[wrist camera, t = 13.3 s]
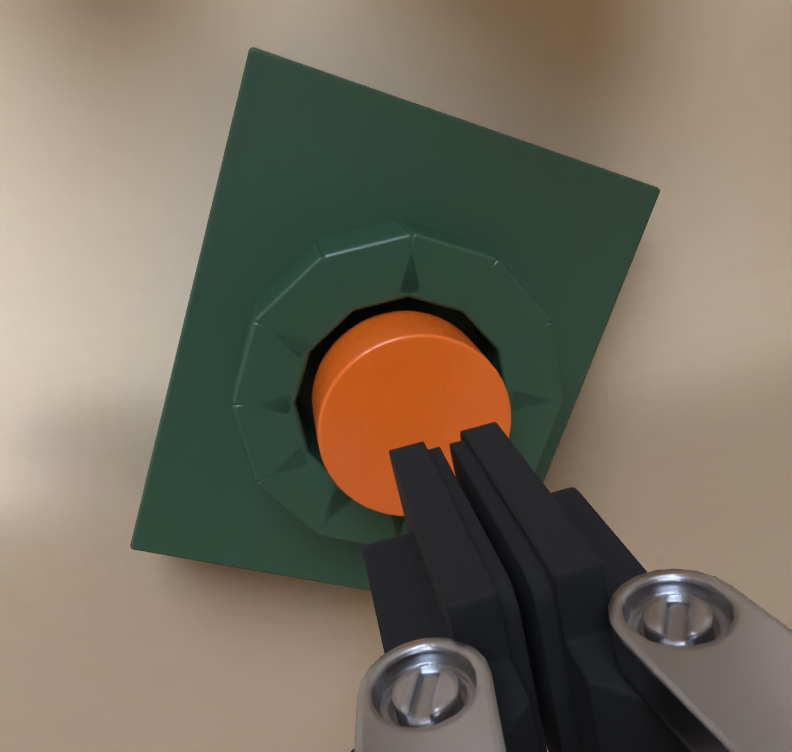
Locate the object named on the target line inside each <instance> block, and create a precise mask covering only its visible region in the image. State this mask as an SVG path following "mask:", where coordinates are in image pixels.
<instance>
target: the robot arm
mask: <svg viewBox="0 0 792 752" xmlns="http://www.w3.org/2000/svg"><path fill="white" fill-rule="evenodd" d="M460 439H461V441H458V442H454V443H450V453H451V458H452V462H453V467H454V472H455V475H454V473H453V471H452V469H451V467H450V465H449V463H448V461H447V460H446V458H445V456H444V454H443V452H442V450H441V448H440V447H436V448H432V449H427V447H426V445H425V443H424V442H423V441H422V442H418V443H414V444H411V445H407V446H403V447H400V448H396V449H392V450H389V455H390V460H391V464H392V468H393V472H394V476H395V480H396V484H397V488H398V493H399V497H400V501H401V505H402V509H403V513H404V517H405V521H406V525H407V529H408V533H406V534H402V535H399V536H395V537H392V538H388V539H384V540H381V541H377V542H374V543H370V544H367V545H363V546H362V551H363V556H364V561H365V565H366V570H367V574H368V579H369V584H370V588H371V593H372V597H373V602H374V607H375V611H376V616H377V620H378V625H379V630H380V634H381V639H382V643H383V648H384V653H385V654H383V655H382V656H381V657H380V658H379V659H378V660H377V661H376V662H375V663H373V664H372V665H371V666H370V668H369V669H368V671H367V672H366V674H365V675H364V677H363V678H362V680H361V682H360V686H359V690H358V694H357V705H356V725H355V745H354V749H353V750H352V751H351V752H547V749H548V751H549V752H792V630H791V629H790V628H788V627H787V626H786V625H784V624H783V623H782V622H780V621H779V620H778V619H776V618H775V617H774V616H772V615H771V614H770V613H768V612H767V611H765V610H764V609H763V608H761V607H760V606H759V605H757V604H756V603H755V602H753V601H752V600H751V599H749V598H748V597H747V596H745V595H744V594H743V593H741V592H740V591H739V590H737V589H736V588H734V587H733V586H732V585H730V584H728V583H726V582H724V581H723V580H721V579H719V578H717V577H715V576H712V575H709V574H705V573H702V572H699V571H694V570H684V569H665V570H655V571H651V572H648V573H647V571H646V570H645V569H644V568H643V567H642V565H641V564H640V563H639V562H638V561H637V560H636V558H635V557H634V556H633V555H632V554H631V552H630V551H629V550H628V549H627V548H626V547H625V545H624V544H623V543H622V542H621V541H620V539H619V538H618V537H617V536H616V535H615V534H614V532H613V531H612V530H611V529H610V528H609V526H608V525H607V524H606V523H605V522H604V521H603V519H602V518H601V517H600V516H599V515H598V513H597V512H596V511H595V510H594V509H593V508H592V506H591V505H590V504H589V503H588V502H587V500H586V499H585V498H584V497H583V496H582V495H581V493H580V492H579V491H578V490H577V489H575V488H573V487H570V488H567V489H563V490H560V491H556V492H552V493H550V492H549V490H548V489H547V488H546V487H545V485H544V484H543V483H542V481H541V480H540V479H539V477H538V476H537V475H536V473H535V472H534V471H533V470H532V468H531V467H530V466H529V464H528V463H527V462H526V460H525V459H524V458H523V456H522V455H521V454H520V453H519V451H518V450H517V449H516V447H515V446H514V445H513V443H512V442H511V441H510V439H509V438H508V437H507V436H506V434H505V433H504V432H503V430H502V429H501V428H500V426H499V425H498V424H497V423H496V422H492V423H488V424H485V425H481V426H477V427H474V428H470V429H466V430H462V431H460ZM455 476H456V477H455ZM546 747H547V748H546Z"/></svg>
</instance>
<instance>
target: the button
mask: <svg viewBox="0 0 792 752" xmlns="http://www.w3.org/2000/svg"><path fill="white" fill-rule="evenodd" d="M312 410H313V416H314V422H315V428H316V434H317V440H318V446H319V451H320V455H321V458H322V461H323V463H324V466H325V468H326V470H327V471H328V473H329V475H330V477H331V478H332V479H333V481H334V482H335V483H336V485H337V486H338V487H339V488H340V489H341V490H342V491H343V492H344V493H345V494H346V495H348V496H349V497H350V498H352V499H353V500H354V501H356V502H358V503H359V504H361V505H363V506H365V507H367V508H370V509H372V510H374V511H377V512H381V513H385V514H389V515H396V516H404V513H403V509H402V505H401V501H400V497H399V493H398V488H397V484H396V480H395V476H394V472H393V468H392V464H391V460H390V455H389V450H392V449H396V448H400V447H403V446H407V445H411V444H414V443H418V442H422V441H423V442H424V443H425V445H426V447H427V449H432V448H436V447H440V448H441V450H442V452H443V454H444V456H445V458H446V460H447V461H448V463H449V465H450V467H451V469H452V471H453V473H454V475H455V472H454V467H453V462H452V458H451V453H450V443H454V442H458V441H461V439H460V431H462V430H466V429H470V428H474V427H477V426H481V425H485V424H488V423H492V422H496V423H497V424H498V425H499V426H500V428H501V429H502V430H503V432H504V433H505V434H506V436H507V437H508V438H509V435H510V429H511V406H510V400H509V396H508V392H507V389H506V387H505V385H504V382H503V380H502V378H501V377H500V375H499V373H498V372H497V370H496V369H495V368H494V366H493V365H492V364H491V363H490V361H489V360H488V359H487V358H486V357H485V356H484V355H483V354H482V353H481V351H480V350H479V349H478V348H477V347H476V346H475V345H474V344H473V343H472V341H471V340H470V339H469V338H468V337H467V336H466V335H465V334H464V333H463V332H462V331H461V330H460V329H458V328H457V327H455V326H454V325H453V324H451V323H450V322H448V321H446V320H444V319H442V318H440V317H437V316H434V315H431V314H428V313H423V312H418V311H393V312H388V313H382V314H379V315H376V316H373V317H370V318H368V319H366V320H364V321H362V322H359V323H358V324H356V325H355V326H353V327H352V328H350V329H349V330H347V331H346V332H345V333H344V334H343V335H341V336H340V337H339V338H338V339H337V340H336V341H335V342H334V344H333V345H332V346H331V347H330V349H329V350H328V351H327V353H326V354H325V356H324V357H323V359H322V361H321V363H320V365H319V367H318V370H317V373H316V376H315V380H314V384H313V390H312ZM455 477H456V476H455Z"/></svg>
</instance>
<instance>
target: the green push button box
mask: <svg viewBox="0 0 792 752" xmlns="http://www.w3.org/2000/svg"><path fill="white" fill-rule="evenodd" d="M659 192H660V189H659V188H658V187H655V186H652V185H649V184H646V183H643V182H640V181H637V180H635V179H632V178H629V177H626V176H623V175H620V174H617V173H614V172H612V171H609V170H606V169H603V168H600V167H597V166H594V165H591V164H588V163H586V162H583V161H580V160H577V159H574V158H571V157H568V156H565V155H563V154H560V153H557V152H554V151H551V150H548V149H545V148H542V147H540V146H537V145H534V144H531V143H528V142H525V141H522V140H519V139H517V138H514V137H511V136H508V135H505V134H502V133H499V132H496V131H493V130H491V129H488V128H485V127H482V126H479V125H476V124H473V123H470V122H468V121H465V120H462V119H459V118H456V117H453V116H450V115H447V114H445V113H442V112H439V111H436V110H433V109H430V108H427V107H424V106H421V105H419V104H416V103H413V102H410V101H407V100H404V99H401V98H398V97H396V96H393V95H390V94H387V93H384V92H381V91H378V90H375V89H373V88H370V87H367V86H364V85H361V84H358V83H355V82H352V81H350V80H347V79H344V78H341V77H338V76H335V75H332V74H329V73H326V72H324V71H321V70H318V69H315V68H312V67H309V66H306V65H303V64H301V63H298V62H295V61H292V60H289V59H286V58H283V57H280V56H278V55H275V54H272V53H269V52H266V51H263V50H260V49H257V48H254V47H253V48H250V49H249V52H248V56H247V60H246V65H245V69H244V73H243V77H242V81H241V85H240V90H239V94H238V98H237V102H236V106H235V111H234V115H233V119H232V123H231V127H230V131H229V136H228V140H227V144H226V148H225V152H224V156H223V161H222V165H221V169H220V173H219V177H218V182H217V186H216V190H215V194H214V198H213V202H212V207H211V211H210V215H209V219H208V223H207V227H206V232H205V236H204V240H203V244H202V248H201V253H200V257H199V261H198V265H197V269H196V273H195V278H194V282H193V286H192V290H191V294H190V299H189V303H188V307H187V311H186V315H185V319H184V324H183V328H182V332H181V336H180V340H179V344H178V349H177V353H176V357H175V361H174V365H173V370H172V374H171V378H170V382H169V386H168V390H167V395H166V399H165V403H164V407H163V411H162V415H161V420H160V424H159V428H158V432H157V436H156V441H155V445H154V449H153V453H152V457H151V461H150V466H149V470H148V474H147V478H146V482H145V486H144V491H143V495H142V499H141V503H140V507H139V512H138V516H137V520H136V524H135V528H134V532H133V537H132V541H131V545H130V546H131V549H134V550H139V551H145V552H151V553H157V554H163V555H168V556H174V557H180V558H186V559H191V560H197V561H203V562H209V563H214V564H220V565H226V566H232V567H237V568H243V569H249V570H255V571H261V572H266V573H272V574H278V575H284V576H289V577H295V578H301V579H307V580H312V581H318V582H324V583H330V584H335V585H341V586H347V587H353V588H358V589H364V590H370V591H371V588H370V584H369V579H368V574H367V570H366V565H365V561H364V556H363V551H362V546H363V545H367V544H370V543H374V542H377V541H381V540H384V539H388V538H392V537H395V536H399V535H402V534H406V533H408V529H407V525H406V521H405V517H404V516H396V515H389V514H385V513H381V512H377V511H374V510H372V509H370V508H367V507H365V506H363V505H361V504H359V503H358V502H356V501H354V500H353V499H352V498H350V497H349V496H348V495H346V494H345V493H344V492H343V491H342V490H341V489H340V488H339V487H338V486H337V485H336V483H335V482H334V481H333V479H332V478H331V477H330V475H329V473H328V471H327V470H326V468H325V466H324V463H323V461H322V458H321V455H320V451H319V446H318V440H317V434H316V428H315V422H314V416H313V410H312V390H313V384H314V380H315V376H316V373H317V370H318V367H319V365H320V363H321V361H322V359H323V357H324V356H325V354H326V353H327V351H328V350H329V349H330V347H331V346H332V345H333V344H334V342H335V341H336V340H337V339H338V338H339V337H340V336H341V335H343V334H344V333H345V332H346V331H347V330H349V329H350V328H352V327H353V326H355V325H356V324H358V323H359V322H362V321H364V320H366V319H368V318H370V317H373V316H376V315H379V314H382V313H388V312H393V311H418V312H423V313H428V314H431V315H434V316H437V317H440V318H442V319H444V320H446V321H448V322H450V323H451V324H453V325H454V326H455V327H457V328H458V329H460V330H461V331H462V332H463V333H464V334H465V335H466V336H467V337H468V338H469V339H470V340H471V341H472V343H473V344H474V345H475V346H476V347H477V348H478V349H479V350H480V351H481V353H482V354H483V355H484V356H485V357H486V358H487V359H488V360H489V361H490V363H491V364H492V365H493V366H494V368H495V369H496V370H497V372H498V373H499V375H500V377H501V378H502V380H503V382H504V385H505V387H506V389H507V392H508V396H509V400H510V406H511V429H510V435H509V439H510V441H511V442H512V443H513V445H514V446H515V447H516V449H517V450H518V451H519V453H520V454H521V455H522V456H523V458H524V459H525V460H526V462H527V463H528V464H529V466H530V467H531V468H532V470H533V471H534V472H535V473H536V475H537V476H538V477H539V479H540V480H541V481H542V483H543V482H544V479H545V477H546V474H547V472H548V469H549V467H550V464H551V462H552V459H553V457H554V454H555V452H556V449H557V447H558V444H559V442H560V439H561V437H562V434H563V432H564V429H565V427H566V424H567V422H568V419H569V417H570V414H571V412H572V409H573V407H574V404H575V402H576V399H577V397H578V394H579V392H580V389H581V387H582V384H583V382H584V379H585V377H586V374H587V372H588V369H589V367H590V364H591V362H592V359H593V357H594V354H595V352H596V349H597V347H598V344H599V342H600V340H601V337H602V335H603V332H604V330H605V327H606V325H607V322H608V320H609V317H610V315H611V312H612V310H613V307H614V305H615V302H616V300H617V297H618V295H619V292H620V290H621V287H622V285H623V282H624V280H625V277H626V275H627V272H628V270H629V267H630V265H631V262H632V260H633V257H634V255H635V252H636V250H637V247H638V245H639V242H640V240H641V237H642V235H643V232H644V230H645V227H646V225H647V222H648V220H649V217H650V215H651V212H652V210H653V207H654V205H655V202H656V200H657V197H658V195H659Z"/></svg>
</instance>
